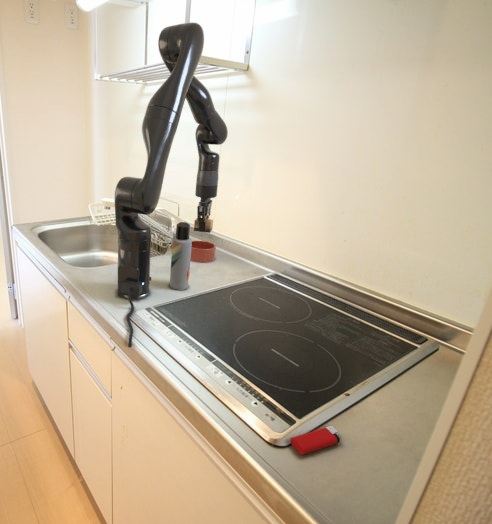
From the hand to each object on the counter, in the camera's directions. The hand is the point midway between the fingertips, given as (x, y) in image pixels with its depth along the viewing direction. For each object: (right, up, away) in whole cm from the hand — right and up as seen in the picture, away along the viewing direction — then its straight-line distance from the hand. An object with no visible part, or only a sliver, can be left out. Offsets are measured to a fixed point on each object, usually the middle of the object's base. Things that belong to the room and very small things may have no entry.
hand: (202, 229), depth 133 cm
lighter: (+5, -41, -76) cm, 86 cm away
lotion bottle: (-11, -20, -21) cm, 31 cm away
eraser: (0, 0, 0) cm, 0 cm away
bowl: (0, -10, +4) cm, 11 cm away
